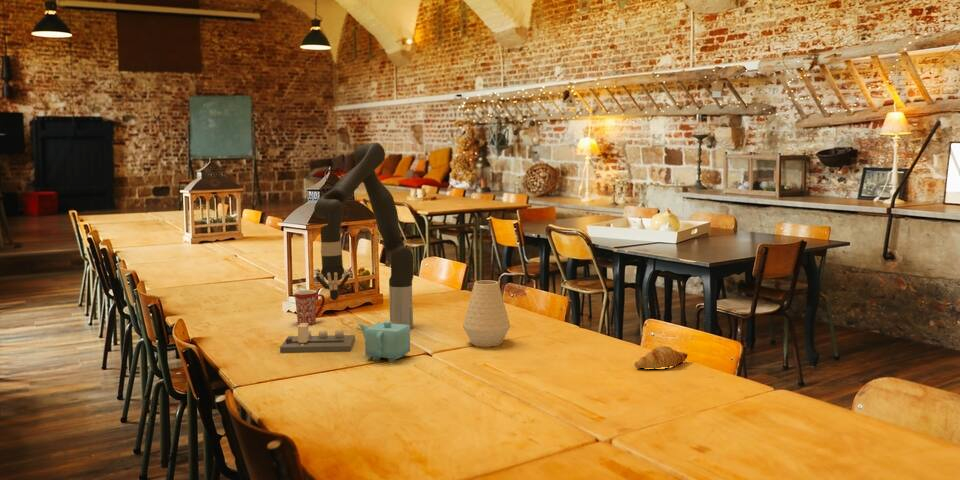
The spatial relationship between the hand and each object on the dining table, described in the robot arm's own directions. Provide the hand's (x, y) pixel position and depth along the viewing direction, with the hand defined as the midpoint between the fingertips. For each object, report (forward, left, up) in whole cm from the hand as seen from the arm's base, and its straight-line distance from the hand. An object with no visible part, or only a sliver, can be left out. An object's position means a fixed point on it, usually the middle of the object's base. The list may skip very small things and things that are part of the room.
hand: (334, 299), depth 296 cm
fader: (+11, +5, -14) cm, 19 cm away
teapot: (-18, +20, -17) cm, 32 cm away
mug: (+15, -34, -17) cm, 41 cm away
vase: (-56, +4, -17) cm, 59 cm away
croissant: (-112, +37, -17) cm, 119 cm away
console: (+6, +3, -17) cm, 18 cm away
